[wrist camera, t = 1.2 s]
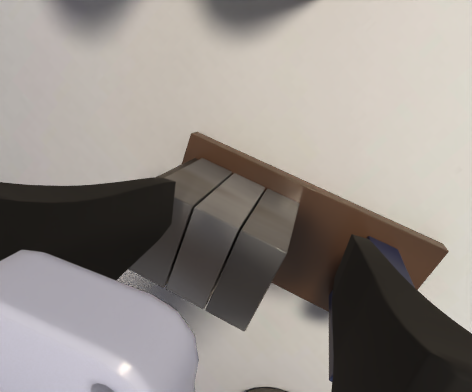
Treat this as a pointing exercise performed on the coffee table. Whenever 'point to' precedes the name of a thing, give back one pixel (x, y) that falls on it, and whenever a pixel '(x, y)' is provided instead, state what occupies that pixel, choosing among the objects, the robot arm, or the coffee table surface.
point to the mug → (265, 390)
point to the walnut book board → (322, 227)
